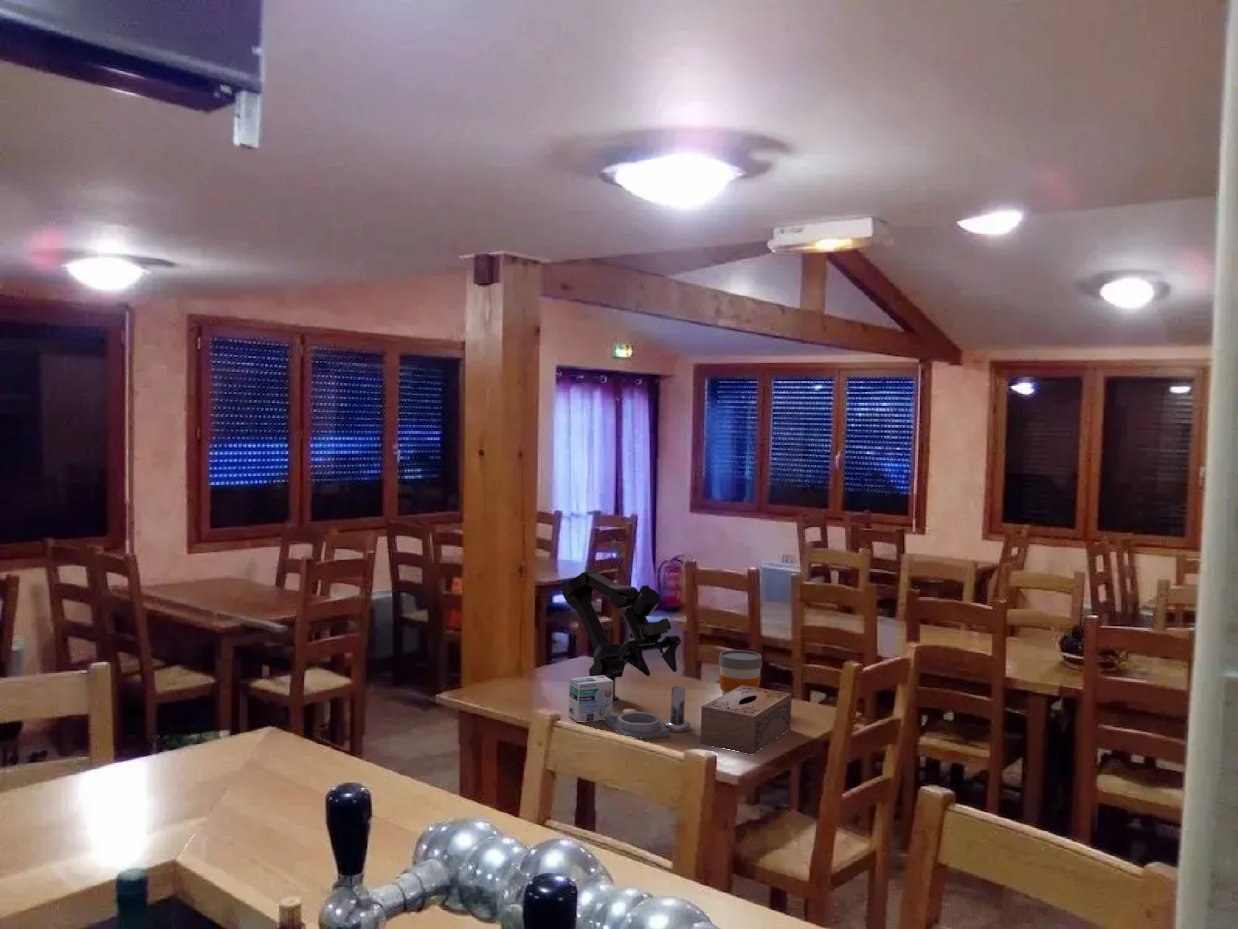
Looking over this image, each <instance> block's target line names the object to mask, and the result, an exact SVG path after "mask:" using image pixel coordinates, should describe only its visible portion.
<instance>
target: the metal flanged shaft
mask: <svg viewBox="0 0 1238 929" xmlns="http://www.w3.org/2000/svg"><path fill="white" fill-rule="evenodd" d="M685 699H686V687H685V686H682V685H674V686H671V698H670V700H671V701H670V718H669V719H666V720H664V722H663V727H664V728H666V729H667V730H668V731H669V733H670V732H672V733H686V732H689V731H690V730H691V722H690V721H688V720H685V706H686V705H685V703H686V702H685Z"/></svg>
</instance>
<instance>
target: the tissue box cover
mask: <svg viewBox="0 0 1238 929" xmlns="http://www.w3.org/2000/svg"><path fill="white" fill-rule="evenodd" d="M792 695H793V694H792V693H789V692H785V691H779V690H773V689H767V688H762V687H759V688H756V687H751V686H745V685H741V686H739V687H737V688H736V689H734V690H732V691H730V692H728V693H726V694H724V695H720V696H718V697H717V698H715V699H713V700H711V701H709V702H707V703H706V704H704V705H702V706H701V710H700V711H701V712H700V713H701V716H700V740H699V745H702V746H708V747H711V746H714V747H713V748H716V747H717V748H716V749H720V748H725V749H730V750H735V751H739V752H743V753H742V754H744V753H747V754H746V755H749V754H754V755H755V753H756V752H757V751H759V750H760V749H761V748H763V749H765V748H766V747H767V746H769V745H770V744H771V743H770V742H772V743H773V742H774V741H776V740H777V739H778V738H777V737H779V736H780V737H781V735H782V734H783V733H785V732H786V731H787V730H789V729H790V730H791V721H792V720H791V719H792V699H793V698H792ZM790 730H789V731H790ZM787 732H788V731H787ZM787 732H786V733H787ZM786 733H785V734H786ZM783 735H784V734H783ZM783 735H782V736H783ZM780 737H779V738H780ZM776 738H777V739H776ZM775 739H776V740H775ZM769 743H770V744H769ZM768 744H769V745H768ZM766 745H767V746H766ZM765 746H766V747H765ZM725 749H724V750H725ZM730 750H729V751H730ZM761 750H762V749H761ZM761 750H760V751H761ZM760 751H759V752H760ZM739 752H738V753H739ZM757 753H758V752H757ZM757 753H756V754H757Z"/></svg>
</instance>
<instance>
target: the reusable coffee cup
mask: <svg viewBox="0 0 1238 929" xmlns="http://www.w3.org/2000/svg"><path fill="white" fill-rule="evenodd" d="M718 657H719V658H718V665H719V672H718V675H719V676H718V677H719V688H720V689H721V694H722V695H724V694H726V693H728V692H730V691H732V690H734V689H736V688H737V687H739V686H741V685H745V686H751V687H756V688H760V682H761V677H762V676H761V668H762V667H763V659H762V657H763V656H762V654H760V653H757V652H755V651H751V650H744V649H743V650H740V649H730V650H724V651H721V652H720V653H719V656H718ZM722 695H721V696H722Z"/></svg>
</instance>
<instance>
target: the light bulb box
mask: <svg viewBox="0 0 1238 929" xmlns="http://www.w3.org/2000/svg"><path fill="white" fill-rule="evenodd" d="M613 685H614V681H613V680H611V679H609V678H607V677H606V676H604V675H600V676H590V675H589V676H583V677H571V678H569V695H568V696H569V697H568V698H569V700H568V717H569V718H571V719H572V718H573V719H574V720H573V719H572V720H573V721H575V720H576V721H585V722H584V723H590V722H591V721H592V722H600V721H599V720H602V721H604V719H605V716H613V705H614V700H613ZM576 721H575V722H576ZM589 721H590V722H589ZM592 722H591V723H592Z"/></svg>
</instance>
